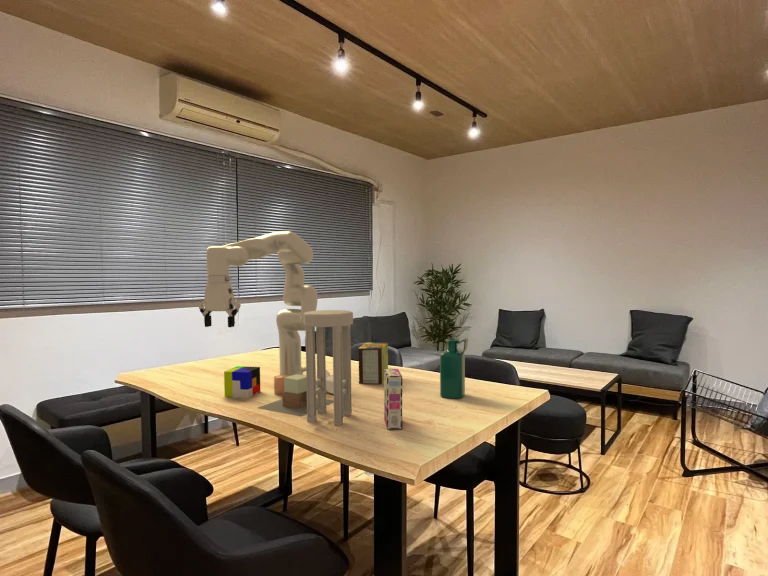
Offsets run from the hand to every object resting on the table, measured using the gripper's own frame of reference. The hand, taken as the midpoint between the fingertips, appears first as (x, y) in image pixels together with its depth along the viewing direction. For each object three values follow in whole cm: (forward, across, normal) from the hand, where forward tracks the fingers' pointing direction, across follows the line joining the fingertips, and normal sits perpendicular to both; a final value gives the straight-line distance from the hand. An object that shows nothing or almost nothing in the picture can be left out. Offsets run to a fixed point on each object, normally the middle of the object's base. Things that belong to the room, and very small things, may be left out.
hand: (219, 326), depth 169 cm
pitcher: (+29, -83, -28) cm, 92 cm away
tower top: (+23, -29, -3) cm, 37 cm away
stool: (+28, -46, +8) cm, 55 cm away
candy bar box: (+29, -68, +9) cm, 74 cm away
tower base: (+28, -29, -3) cm, 40 cm away
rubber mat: (+28, -29, -3) cm, 41 cm away
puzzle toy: (+29, -1, -13) cm, 31 cm away
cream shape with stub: (+29, -35, -22) cm, 50 cm away
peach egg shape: (+28, -16, -16) cm, 36 cm away
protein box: (+29, -45, -46) cm, 71 cm away
